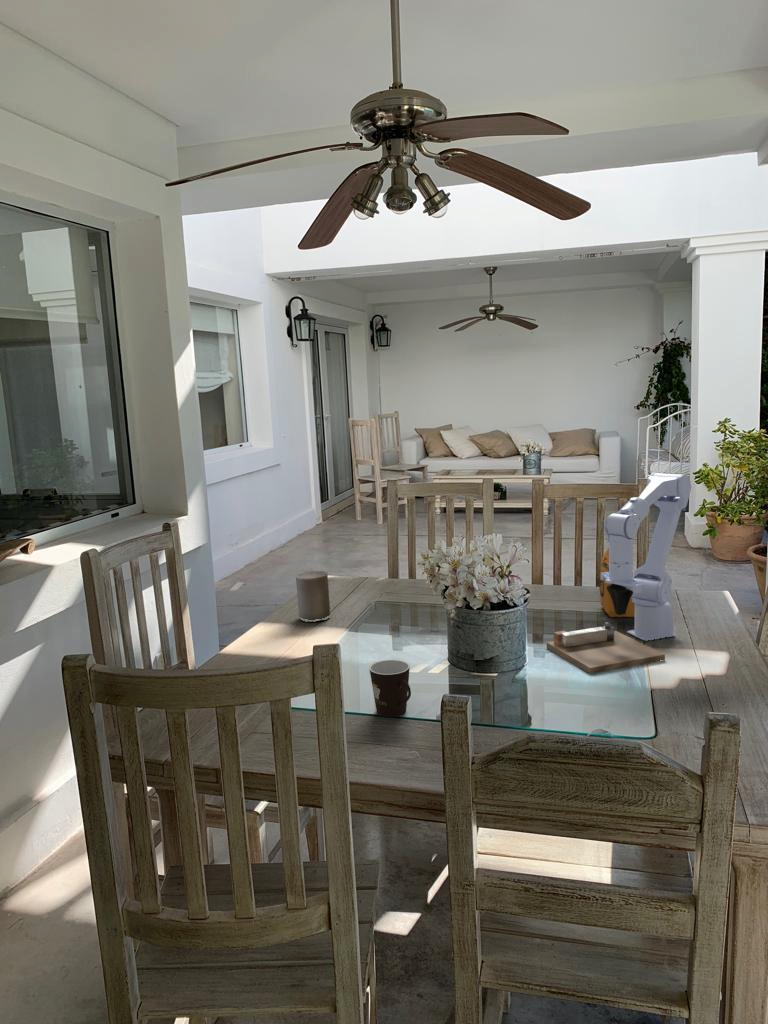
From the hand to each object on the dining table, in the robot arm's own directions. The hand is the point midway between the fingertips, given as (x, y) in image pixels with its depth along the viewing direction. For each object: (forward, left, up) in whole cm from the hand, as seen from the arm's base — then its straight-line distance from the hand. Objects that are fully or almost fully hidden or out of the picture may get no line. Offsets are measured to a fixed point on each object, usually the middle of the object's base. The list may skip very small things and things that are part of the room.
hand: (620, 613), depth 199 cm
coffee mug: (+66, +13, -10) cm, 68 cm away
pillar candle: (+65, -62, -10) cm, 90 cm away
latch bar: (+7, -4, -8) cm, 11 cm away
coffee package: (-18, -27, -10) cm, 34 cm away
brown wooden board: (+6, +1, -9) cm, 11 cm away
